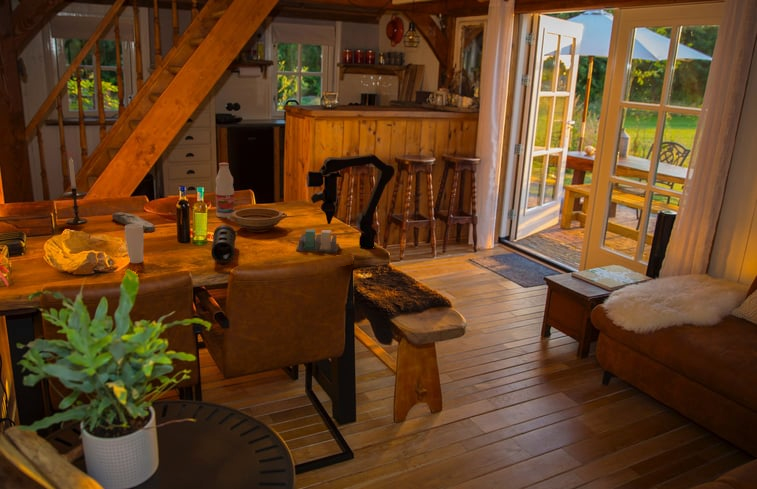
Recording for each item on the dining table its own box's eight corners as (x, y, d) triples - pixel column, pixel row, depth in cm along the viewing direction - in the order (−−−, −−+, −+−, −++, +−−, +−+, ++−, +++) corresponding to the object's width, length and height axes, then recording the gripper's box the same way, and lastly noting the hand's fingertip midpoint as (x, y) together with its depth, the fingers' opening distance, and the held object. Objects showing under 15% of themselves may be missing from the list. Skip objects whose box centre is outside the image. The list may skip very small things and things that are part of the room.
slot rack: (338, 246, 275) (339, 235, 273) (336, 253, 264) (337, 242, 263) (299, 244, 275) (299, 233, 273) (296, 251, 264) (296, 240, 263)
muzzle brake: (211, 266, 241) (210, 241, 238) (214, 246, 267) (213, 223, 264) (235, 265, 243) (234, 241, 240) (236, 245, 269) (235, 223, 266)
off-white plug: (321, 244, 271) (322, 230, 269) (330, 245, 271) (331, 230, 269) (321, 247, 267) (321, 232, 265) (330, 247, 267) (330, 232, 265)
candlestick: (82, 225, 289) (75, 152, 279) (60, 224, 289) (52, 151, 279) (93, 220, 299) (87, 149, 290) (71, 219, 300) (64, 148, 290)
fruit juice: (232, 213, 325) (230, 161, 317) (236, 217, 317) (235, 164, 309) (214, 214, 321) (212, 162, 313) (218, 218, 313) (217, 165, 305)
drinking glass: (147, 259, 245) (145, 223, 241) (142, 264, 238) (139, 228, 234) (130, 258, 244) (128, 223, 240) (124, 264, 238) (121, 227, 234)
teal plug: (306, 244, 271) (306, 229, 269) (315, 244, 271) (315, 229, 269) (305, 246, 267) (305, 231, 265) (314, 247, 267) (314, 232, 265)
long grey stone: (141, 236, 281) (160, 234, 288) (141, 226, 279) (161, 223, 287) (106, 218, 302) (125, 216, 309) (106, 208, 301) (125, 206, 308)
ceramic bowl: (280, 221, 313) (280, 206, 311) (293, 233, 292) (293, 217, 290) (222, 224, 301) (222, 209, 299) (232, 237, 280) (232, 221, 278)
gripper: (314, 182, 272) (314, 215, 276) (309, 190, 254) (309, 225, 258) (339, 183, 272) (338, 216, 276) (335, 191, 254) (335, 227, 258)
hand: (329, 221), depth 267 cm, fingers open, 9 cm apart
